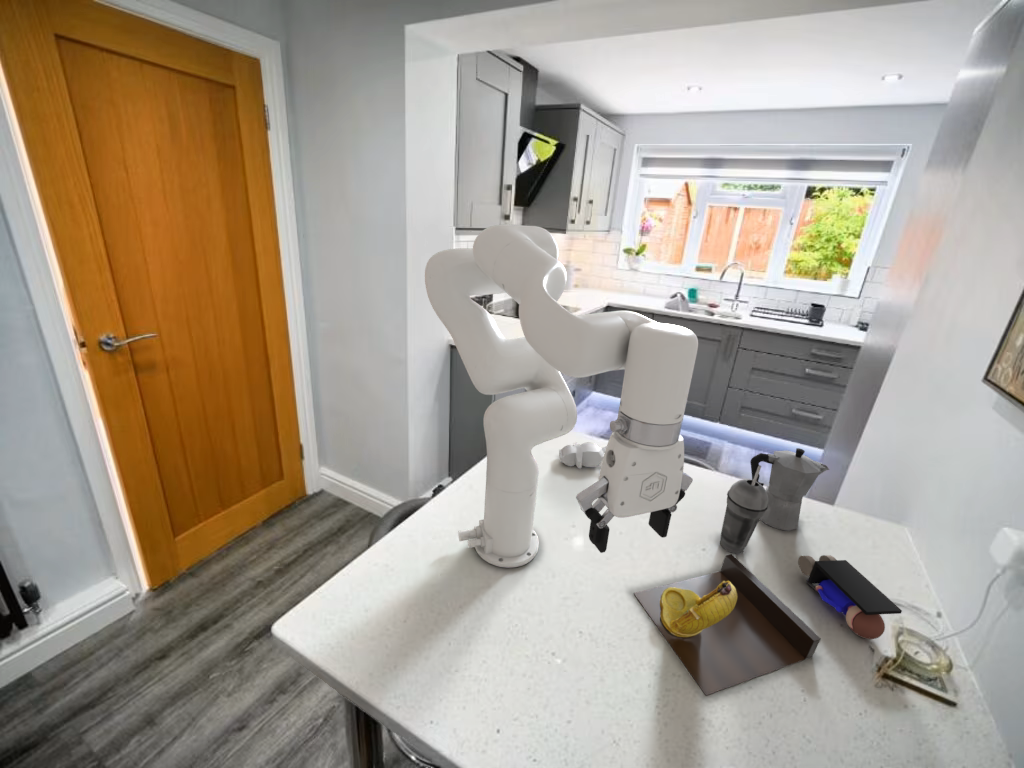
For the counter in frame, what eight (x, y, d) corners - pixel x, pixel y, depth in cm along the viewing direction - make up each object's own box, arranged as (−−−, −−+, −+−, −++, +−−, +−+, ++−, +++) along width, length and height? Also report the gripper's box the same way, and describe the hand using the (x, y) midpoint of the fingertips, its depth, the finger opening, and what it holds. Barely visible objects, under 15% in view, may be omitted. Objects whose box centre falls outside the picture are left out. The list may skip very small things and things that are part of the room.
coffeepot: (798, 509, 103) (824, 443, 96) (816, 537, 94) (846, 466, 87) (729, 498, 105) (750, 432, 98) (740, 523, 96) (764, 453, 90)
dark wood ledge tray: (705, 695, 61) (712, 676, 60) (633, 593, 77) (637, 576, 75) (812, 656, 68) (821, 638, 66) (726, 569, 83) (731, 553, 82)
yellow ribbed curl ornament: (732, 661, 66) (760, 588, 60) (684, 671, 64) (709, 595, 58) (687, 599, 76) (708, 531, 70) (645, 605, 74) (663, 536, 69)
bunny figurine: (557, 438, 118) (613, 436, 118) (558, 455, 120) (612, 453, 120) (561, 457, 109) (621, 455, 109) (561, 474, 111) (620, 472, 111)
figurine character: (788, 580, 84) (854, 647, 70) (797, 546, 82) (868, 608, 67) (820, 579, 85) (892, 645, 70) (830, 546, 83) (906, 606, 68)
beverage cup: (750, 541, 91) (779, 459, 84) (752, 564, 85) (783, 478, 78) (713, 529, 94) (738, 448, 87) (712, 550, 88) (738, 466, 80)
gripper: (603, 449, 47) (586, 572, 53) (725, 430, 53) (697, 543, 59) (571, 420, 54) (559, 532, 60) (683, 406, 60) (661, 510, 66)
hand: (628, 538), depth 60 cm, fingers open, 9 cm apart
